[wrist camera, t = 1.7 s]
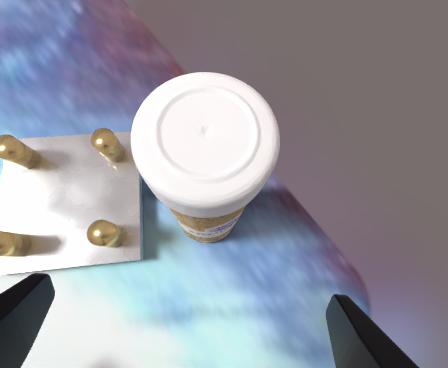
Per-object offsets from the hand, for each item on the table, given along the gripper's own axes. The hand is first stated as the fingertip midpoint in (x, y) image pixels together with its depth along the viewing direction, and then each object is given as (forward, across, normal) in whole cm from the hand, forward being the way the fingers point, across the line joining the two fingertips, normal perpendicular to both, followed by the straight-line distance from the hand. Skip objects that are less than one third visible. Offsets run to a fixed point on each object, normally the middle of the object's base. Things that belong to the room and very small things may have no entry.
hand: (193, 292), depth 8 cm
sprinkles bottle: (+11, 0, +5) cm, 12 cm away
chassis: (+11, +10, +5) cm, 16 cm away
